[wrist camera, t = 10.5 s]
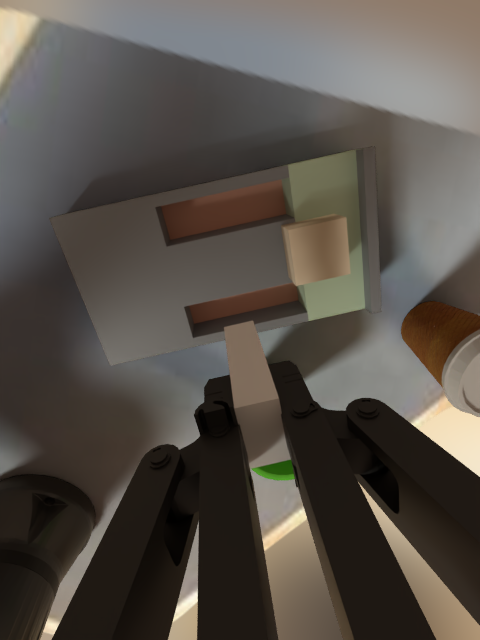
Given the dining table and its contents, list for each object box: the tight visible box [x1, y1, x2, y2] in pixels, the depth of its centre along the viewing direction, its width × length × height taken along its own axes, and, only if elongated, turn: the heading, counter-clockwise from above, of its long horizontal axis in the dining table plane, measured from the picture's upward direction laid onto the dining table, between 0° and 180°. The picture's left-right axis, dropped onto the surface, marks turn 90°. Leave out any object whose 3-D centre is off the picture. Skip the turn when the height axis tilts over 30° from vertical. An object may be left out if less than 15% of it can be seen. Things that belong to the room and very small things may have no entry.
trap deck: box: [49, 146, 381, 366], centre depth 34 cm, size 28×15×6 cm, turn 101°
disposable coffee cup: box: [401, 301, 480, 417], centre depth 36 cm, size 10×10×12 cm
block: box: [281, 214, 351, 286], centre depth 31 cm, size 5×5×3 cm
